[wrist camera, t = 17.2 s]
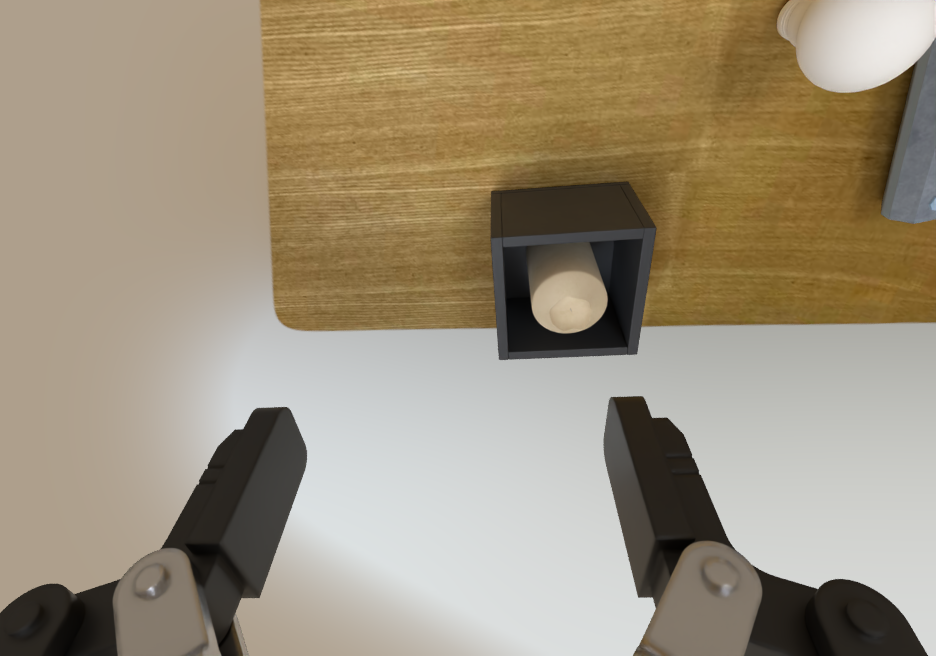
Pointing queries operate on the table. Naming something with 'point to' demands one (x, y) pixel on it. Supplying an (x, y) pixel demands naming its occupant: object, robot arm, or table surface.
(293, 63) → the table surface
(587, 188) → the bin
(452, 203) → the table surface
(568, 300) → the candle
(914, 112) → the book
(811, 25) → the lightbulb
